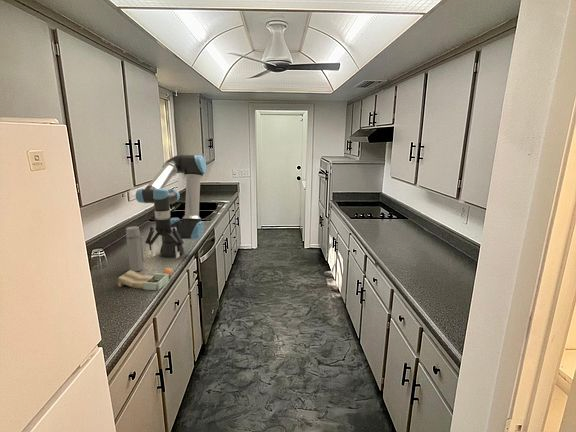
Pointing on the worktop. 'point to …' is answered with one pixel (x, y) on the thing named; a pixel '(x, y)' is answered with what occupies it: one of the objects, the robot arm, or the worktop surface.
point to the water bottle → (134, 248)
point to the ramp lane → (134, 279)
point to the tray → (156, 286)
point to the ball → (167, 271)
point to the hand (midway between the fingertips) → (165, 256)
